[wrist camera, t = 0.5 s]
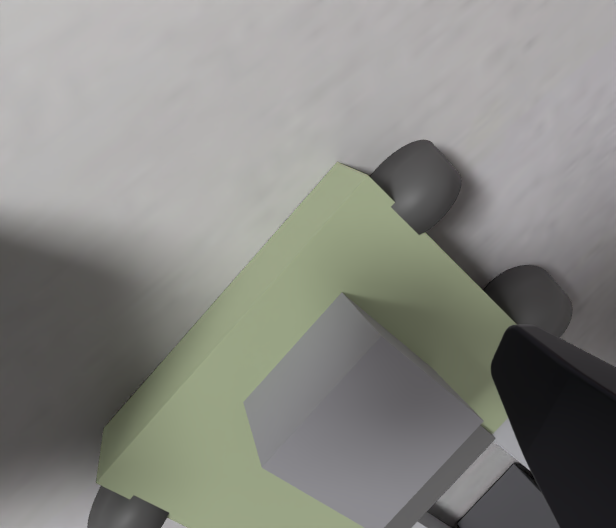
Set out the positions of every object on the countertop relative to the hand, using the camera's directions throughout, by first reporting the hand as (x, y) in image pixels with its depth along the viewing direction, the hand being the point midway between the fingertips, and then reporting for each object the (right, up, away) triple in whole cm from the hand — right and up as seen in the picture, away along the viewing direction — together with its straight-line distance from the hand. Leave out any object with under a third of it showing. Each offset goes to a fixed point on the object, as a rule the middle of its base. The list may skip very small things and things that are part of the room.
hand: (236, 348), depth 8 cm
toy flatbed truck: (+8, -9, +22) cm, 25 cm away
